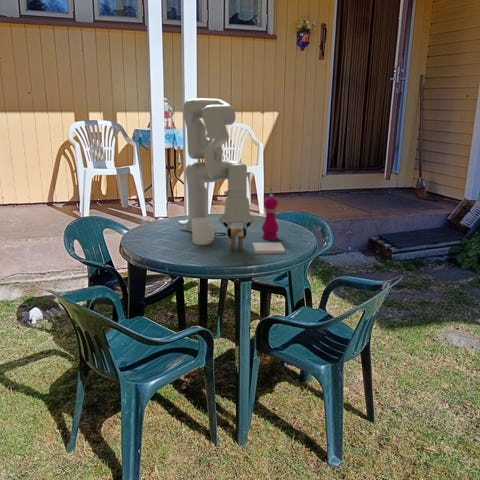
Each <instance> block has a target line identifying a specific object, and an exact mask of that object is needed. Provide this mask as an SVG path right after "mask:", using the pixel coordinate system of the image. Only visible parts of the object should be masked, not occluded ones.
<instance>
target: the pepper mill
mask: <svg viewBox="0 0 480 480" xmlns="http://www.w3.org/2000/svg"><path fill="white" fill-rule="evenodd" d="M263 205H264V207H265V208H264V209H265V211H264V212H265V220H264V221H263V223H262V226H261V231H262V232H263V234H262V238H263V240H267V239H268V241H271V240H272V241H273V239H274V240H277V239H278V234H277V233H278V231H279V224H278V222H277V220H276V213H277V207H278V205H279V204H278V199H277V198H275V197H274V194H273V193H270V194H269V195H268V197H267V198H266V199H264V201H263Z"/></svg>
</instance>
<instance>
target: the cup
mask: <svg viewBox="0 0 480 480" xmlns="http://www.w3.org/2000/svg"><path fill="white" fill-rule="evenodd" d="M192 231H193V232H192V243H193V244H194V245H197V246H206V245H211V244H212V242H213V241H214V239H215V235H216V234H215V228H214V225H213V219H212V218H210V217H208V218H194V219H192Z"/></svg>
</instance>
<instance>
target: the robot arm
mask: <svg viewBox="0 0 480 480" xmlns="http://www.w3.org/2000/svg"><path fill="white" fill-rule="evenodd" d="M182 113H183V114H182V115H183V119H184V123H185V126H186V135H187V136H186V138H187V139H186V140H187V155H188V157H189V158H190V159H193V160H204V161H200V162H199V161H198V162H197V161H196V162H192V163H189V164H187V166H186V167H185V178H186V185H187V219H185V220H179V221H178V225H179V226H185V227H184V230H185V231H187V232H192V233H193V231H192V219H194V218H209V191H208V189H207V188H206V186H205V185H204V184H206V183H217V182H219V181H221V180H222V181H223V180H227V190H225V191H224V192H223V194H224V196H225V195H226V197H225V201H224V202H225V203H224V213H223V214H222V216H221V217H220V218H218V222H219V223H221V225H223V226H224V227H225V229H226V231H227V232H226V233H227V235H226V236H227V237H228V239H229V240H231V228H230V226H232V224H235V223H237V224H242V225H243V226H242V227H243V230H244V237H243V240H245V238H246V237H247V229H248V228H249V227H250V226H251V225H252V224H254V223H255V222H256V220H255V218H254V216H252V214H251V211H250V210H251V209H250V200H249V196H248V197H247V192H248V191H247V189H248V188H247V184H248V183H247V182H248V181H247V178H248V175H247V174H248V167H247V164H246V163H243V162H239V161H237V160H223V148H222V147H223V145H225V144H226V143H227V142H228V141H229V139H230V136H229V132H228V128H227V126H231V125H233V124H234V123H235V122H236V112H235V108H233V106H232V105H230V104H229V103H227V102H226V101H224V100H221V99H219V98H204V97H203V98H198V97H197V98H196V97H195V98H190V99H187V100H186V101H185V102H184V104H183V108H182ZM201 119H202V120H201Z"/></svg>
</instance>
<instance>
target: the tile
mask: <svg viewBox="0 0 480 480" xmlns="http://www.w3.org/2000/svg"><path fill="white" fill-rule="evenodd" d="M252 248H253V251H254V253H255V255H256V254H258V255H261V254H268V255H270V254H271V255H272V254H286V249H285V248H284V246H283V244H282V242H252Z"/></svg>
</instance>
